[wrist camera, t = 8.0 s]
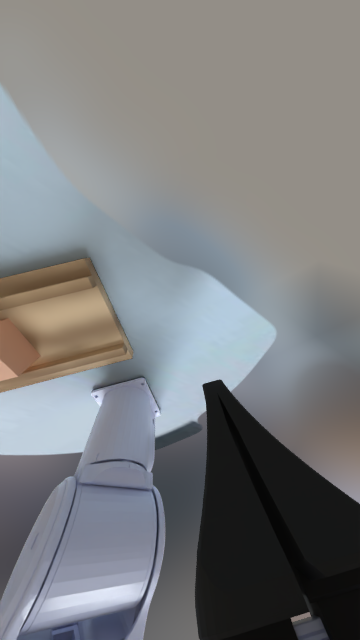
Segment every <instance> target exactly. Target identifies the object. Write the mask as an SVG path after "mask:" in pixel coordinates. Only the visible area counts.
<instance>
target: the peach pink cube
mask: <svg viewBox="0 0 360 640" xmlns="http://www.w3.org/2000/svg"><path fill="white" fill-rule="evenodd" d="M40 356H41V355H40V354H39V353H38V352H37V351H36V350H35V348H34V347H33V346H32V345H31V344H30V343H29V342H28V340H27V339H26V338H25V337H24V336H23V335H22V333H21V332H20V331H19V330H18V329H17V328H16V326H15V325H14V324H13V323H12V322H11V321H10V319H9V318H6V319H2V320H0V381H3V380H7V379H11V378H15V377H18V376H19V375H21V374H22V373H23V372H24V371H25V370H26V369H27V368H28V367H29V366H30V365H32V364H33V363H34V362H35V361H36V360H37V359H38V358H39V357H40Z"/></svg>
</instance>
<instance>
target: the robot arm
mask: <svg viewBox="0 0 360 640" xmlns="http://www.w3.org/2000/svg"><path fill="white" fill-rule="evenodd" d="M202 386H203V391H204V395H205V400H206V410H207V460H206V461H207V462H206V476H205V489H204V498H203V509H202V517H201V525H200V534H199V542H198V549H197V566H196V567H197V568H196V583H195V608H196V617H197V625H198V634H199V639H200V640H360V504H359V503H358V502H356V501H355V500H353V499H352V498H351V497H349V496H348V495H346V494H345V493H344V492H342V491H341V490H340V489H338V488H337V487H336V486H334V485H333V484H332V483H330V482H329V481H328V480H326V479H325V478H324V477H322V476H321V475H320V474H319V473H317V472H316V471H315V470H313V469H312V468H311V467H309V466H308V465H307V464H306V463H305V462H303V461H302V460H301V459H300V458H298V457H297V456H296V455H295V454H294V453H292V452H291V451H290V450H289V449H287V448H286V447H285V446H284V445H283V444H281V443H280V442H279V441H278V440H277V439H276V438H275V437H274V436H272V435H271V434H270V433H269V432H268V431H267V430H266V429H265V428H264V427H263V426H262V425H261V424H260V423H259V422H258V421H257V420H256V419H255V418H254V417H253V416H252V415H251V414H250V413H249V412H248V411H247V410H246V409H245V408H244V407H243V406H242V405H241V404H240V403H239V401H238V400H237V399H236V398H235V397H234V396H233V395H232V393H231V392H230V391H229V390H228V388H227V387H226V386H225V384H224V383H223V382H222V380H216V381H213V382H209V383H205V384H203V385H202ZM91 395H92V396H93V398H94V399H95V400H96V402H97V403H98V404H99V405H100V408H99V411H98V414H97V417H96V419H95V422H94V425H93V427H92V430H91V433H90V435H89V438H88V441H87V443H86V446H85V449H84V452H83V454H82V457H81V460H80V462H79V465H78V468H77V470H76V473H75V475H74V476H73V477H67V478H66V479H65V480H64V481H63V482H62V483H61V484H60V485H58V486H57V487H56V488H55V490H54V491H53V492H52V493H51V495H50V497H49V498H48V500H47V502H46V504H45V505H44V507H43V509H42V511H41V513H40V515H39V517H38V518H37V521H36V522H35V524H34V526H33V528H32V531H31V533H30V535H29V537H28V539H27V541H26V543H25V545H24V547H23V549H22V552H21V554H20V556H19V558H18V561H17V563H16V565H15V568H14V570H13V572H12V575H11V577H10V579H9V582H8V584H7V587H6V590H5V592H4V595H3V597H2V599H1V601H0V640H143V635H144V629H145V623H146V618H147V614H148V609H149V606H150V602H151V599H152V596H153V593H154V590H155V588H156V584H157V581H158V577H159V573H160V568H161V564H162V559H163V553H164V545H165V516H164V509H163V504H162V499H161V496H160V493H159V491H158V490H157V488H156V487H155V486H153V474H152V473H150V472H151V469H152V467H153V463H154V456H155V417H158V416H160V415H161V412H160V410H159V408H158V406H157V403H156V401H155V399H154V397H153V395H152V393H151V391H150V388H149V386H148V384H147V382H146V380H145V378H138V379H134V380H130V381H127V382H123V383H119V384H115V385H111V386H108V387H104V388H100V389H96V390H93V391H92V393H91ZM307 612H310V614H311V617H308V618H305V619H301V620H298V621H295V622H291V617H294V616H298V615H301V614H304V613H307Z"/></svg>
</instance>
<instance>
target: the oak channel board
mask: <svg viewBox="0 0 360 640" xmlns="http://www.w3.org/2000/svg"><path fill="white" fill-rule="evenodd" d="M6 318H9V319H10V321H11V322H12V323H13V324H14V325H15V326H16V328H17V329H18V330H19V331H20V332H21V333H22V335H23V336H24V337H25V338H26V339H27V340H28V342H29V343H30V344H31V345H32V346H33V347H34V348H35V350H36V351H37V352H38V353H39V354H40V355H41V356H40V357H39V358H38V359H37V360H36V361H35V362H34V363H33V364H32V365H30V366H29V367H28V368H27V369H26V370H25V371H24V372H23V373H22V374H21V375H19V376H18V377H15V378H11V379H7V380H3V381H0V393H1V392H5V391H8V390H12V389H16V388H20V387H24V386H28V385H32V384H35V383H39V382H43V381H47V380H51V379H55V378H59V377H62V376H66V375H70V374H74V373H78V372H82V371H86V370H89V369H93V368H97V367H101V366H105V365H109V364H113V363H116V362H120V361H124V360H128V359H132V357H133V350H132V348H131V346H130V344H129V342H128V340H127V337H126V335H125V333H124V331H123V329H122V327H121V324H120V322H119V320H118V318H117V316H116V314H115V311H114V309H113V307H112V305H111V303H110V301H109V299H108V296H107V294H106V292H105V290H104V288H103V286H102V283H101V281H100V279H99V277H98V275H97V273H96V271H95V268H94V266H93V264H92V262H91V260H90V258H84V259H79V260H75V261H71V262H67V263H63V264H58V265H54V266H50V267H46V268H42V269H37V270H33V271H29V272H25V273H21V274H16V275H12V276H8V277H4V278H0V320H2V319H6Z"/></svg>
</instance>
